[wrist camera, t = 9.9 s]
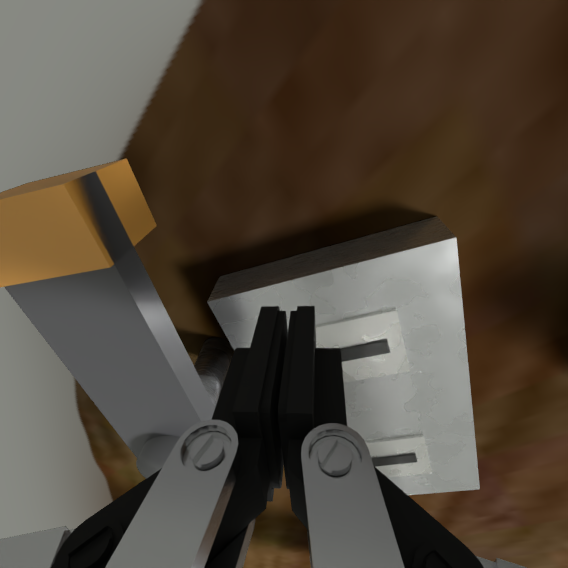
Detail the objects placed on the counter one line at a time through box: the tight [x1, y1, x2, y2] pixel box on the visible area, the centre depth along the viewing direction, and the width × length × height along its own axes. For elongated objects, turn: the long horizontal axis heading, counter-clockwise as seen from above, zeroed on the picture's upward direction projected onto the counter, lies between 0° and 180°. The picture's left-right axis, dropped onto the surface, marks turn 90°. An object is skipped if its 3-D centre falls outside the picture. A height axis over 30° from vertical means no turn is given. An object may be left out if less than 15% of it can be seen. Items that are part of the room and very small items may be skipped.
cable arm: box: [0, 158, 215, 479], centre depth 16 cm, size 17×5×4 cm, turn 13°
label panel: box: [207, 217, 480, 495], centre depth 25 cm, size 24×14×3 cm, turn 19°
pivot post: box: [194, 338, 233, 407], centre depth 23 cm, size 2×2×6 cm
